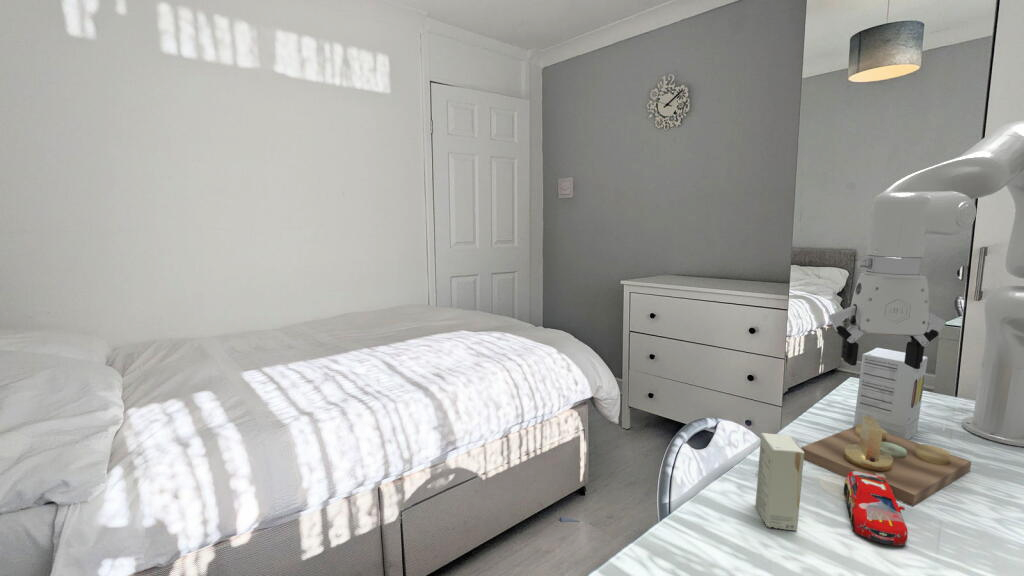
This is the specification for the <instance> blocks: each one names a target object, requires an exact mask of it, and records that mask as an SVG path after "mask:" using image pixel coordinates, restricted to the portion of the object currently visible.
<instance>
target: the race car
mask: <svg viewBox="0 0 1024 576" xmlns="http://www.w3.org/2000/svg"><path fill="white" fill-rule="evenodd" d="M843 485H844V487H843V495H844V498H845V503H846V507H847V511H848V515H849V519H850V522H851V528H852V532H854V533H857V534H858V535H860V536H862V537H863V538H866V539H868V540H871V541H872V542H873V541H874V542H876V543H880V544H883V545H889V546H897V547H898V546H904V545H906V544H907V541H908V534H909V533H908V527H907V525H906V522H905V519H904V515H903V514H902V511H905V509H906V508H905V507H904V506H899V504H898V501H897V499H895V497H894V495H893V492H892V490H891V488H890V486H889V484H888V482H887V481H886V480H885V479H883V478H881V477H879V476H877V475H873V474H868V473H863V472H858V471H852V472H850V473H848V475H847V478H846V477H845V480H844V484H843Z"/></svg>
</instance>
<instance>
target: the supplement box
mask: <svg viewBox="0 0 1024 576" xmlns="http://www.w3.org/2000/svg"><path fill="white" fill-rule="evenodd" d="M905 353H906V352H903V351H898V350H893V349H886V348H881V347H875V348H874V349H872V350H870V351H868V352H865V353H862V356H861V363H860V372H859V381H858V388H857V398H856V405H855V412H854V419H853V427H854V426H856V425H858V424H862V418H863V416H866V417H873V418H875V419H876V421H877V423H878V424H879V426H880V428H882V429H884V430H885V431H886V432H887V433H890V434H893V435H895V436H898V437H901V438H904V439H907V440H910V439H911V438H912V437H914V435H915V434H917V433H918V427H919V426H918V425H919V419H920V412H921V405H922V400H923V393H924V386H925V379H926V373H927V368H928V367H927V366H928V356H925V355H923V360H922V363H920V369H914V368H912V367H910V366H908V365H906V364H905V363H904V361H905Z"/></svg>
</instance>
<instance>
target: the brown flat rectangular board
mask: <svg viewBox="0 0 1024 576" xmlns="http://www.w3.org/2000/svg"><path fill="white" fill-rule="evenodd" d="M861 426H862V424H858V425H856V426H854V425H853V426H852V427H850V428H847V429H845V430H842V431H840V432H839V431H838V432H837V433H834V434H832V435H829V436H827V437H824V438H821V439H819V440H816V441H814V442H812V443H811V442H810V443H808V444H806V445H804V446H800V447H801V449H802V450H803V451H804V460H805V461H807V462H810V463H812V464H814V465H817V466H819V467H820V468H824V469H825V470H827V471H831V472H833V473H834V474H837V475H839V476H842V477H845V479H846V478H847V475H848V473H850V472H852V471H858V472H863V473H868V474H873V475H877V476H879V477H881V478H883V479H885V480H886V481H887V482H888V484H889V486H890V488H891V490H892V492H893V495H894V497H895V499H896V501H897V500H898V501H900V502H902V503H904V504H906V505H909V506H911V507H915V505H918V504H919V503H921V502H922V501H924V500H926V499H927V498H929V497H930V496H932V495H934V494H935V493H937V492H939V491H940V490H942V489H944V488H945V487H947V486H948V485H950V484H952V483H953V482H955V481H956V480H958V479H960V478H962V477H963V476H965V475H967V474H968V473H970V471H971V466H972V461H971V460H969V459H965V458H963V457H960V456H958V455H954V454H952V453H950V452H949V451H948V450H946V449H944V448H942V447H939V446H935V445H932V444H927V443H926V444H924V443H919V442H915V441H913V440H910V439H909V440H907V439H904V438H901V437H898V436H895V435H893V434H890V433H887V432H886V431H885V430H884V429H882V428H881V430H882V431H883V433H882V440H881V448H880V450H883V451H885V452H887V453H888V454H890V455H891V456H892V457H893V464H892V469H891V470H889V471H874V470H869V469H865V468H862V467H859V466H856V465H854V464H852V463H850V462H849V461H848V460H846V459H845V457H844V452H845V446H847V445H849V444H859V442H860V434H861Z"/></svg>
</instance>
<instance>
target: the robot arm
mask: <svg viewBox="0 0 1024 576" xmlns="http://www.w3.org/2000/svg"><path fill="white" fill-rule="evenodd" d="M1005 186H1006V188H1007V190H1008V191H1009V193H1010V196H1011V197H1012V200H1013V203H1014V209H1015V212H1014V213H1015V214H1014V220H1013V225H1012V228H1011V232H1010V237H1009V240H1008V241H1009V242H1008V247H1007V250H1006V257H1005V269H1006V271H1007V273H1008V274H1009V275H1010V276H1012V277H1015V278H1019V279H1023V280H1024V120H1018V121H1013V122H1010V123H1006V124H1003V125H1001V126H999V127H997V128H996V129H994V130H993V131H991V132H990V133H988V134H987V135H986V136H985V137H983V138H981V140H979V141H978V142H977V143H976V144H974V145H973V146H971V147H970V148H969V149H968V150H966V151H965V152H964V153H963V154H961V155H960V156H958V157H955V158H952V159H949V160H945V161H943V162H940V163H938V164H935V165H933V166H929V167H928V168H924V169H921V170H919V171H917V172H914V173H912V174H909V175H907V176H904V177H903V178H901V179H899V180H897V181H895V182H894V183H893V184H891V185H890V186H889V187H888V188H886V189H885V190H884V191H882V192H881V193H879V194H877V195H876V196H875V197H874V199H873V201H872V202H873V203H872V205H871V207H870V210H869V215H868V219H869V222H870V223H869V231H868V233H869V234H868V242H867V250H866V255H865V258H863V259H861V258H860V259H859V258H858V259H857V262H856V265H857V268H863V271H864V272H861V273H860V275H859V276H858V279H857V282H856V285H855V288H854V291H853V295H852V300H851V304H850V306H849V307H845V308H844V309H841V310H839V311H837V312H833V313H832V314H830V315H829V316H828V319H829V321H830V322H831V325H832V328H833V330H834V331H835V332H836V333H837V334H838V336H840V338H841V339H842V340H843V341H842V351H841V357H842V359H843V361H844V362H845V363H846V364H848V365H850V366H856V365H857V364H858V363H857V362H858V355H859V354H858V353H859V347H860V345H859V343H858V342H857V340H859V339H860V338H861V337H862V336H863V335H864V334H868V335H874V336H875V335H879V336H880V335H881V336H899V337H900V336H901V337H908V339H910V341H907V343H906V348H905V352H904V353H905V361H904V363H905V364H906V365H908V366H910V367H912V368H914V369H920V363H922V360H923V356H924V352H925V347H927V346H929V344H930V342H931V341H933V340H934V339H936V338H937V337H938V336H939V332H941V331H942V329H943V328H944V326H945V325H946V324H947V321H946V320H945V319H943V318H941V317H939V316H937V315H935V314H933V313H931V312H930V311H929V310H930V309H929V308H930V297H929V296H930V294H929V284H928V283H929V282H928V278H927V276H923V275H922V269H923V261H924V254H925V246H926V240H927V238H926V237H935V238H936V237H938V238H939V237H940V238H942V237H943V238H944V237H953V236H957V235H959V234H962V233H964V232H966V230H968V229H969V228H970V227H971V226H972V224H973V223H974V221H975V219H976V216H977V208H976V204H975V202H974V201H973V200H975V199H979V198H980V199H981V198H984V197H987V196H991V195H993V194H995V193H997V192H999V191H1000V190H1002V189H1003V188H1005ZM846 319H848V323H849V326H848V327H847V328H845V327H844V324H843V321H844V320H846ZM984 320H985V321H984V322H985V338H984V339H985V340H984V346H983V347H984V348H983V354H982V360H981V361H982V362H981V367H980V372H979V378H978V385H977V392H976V397H975V403H974V409H973V415H972V416H969V417H964V418H963V419H962V422H961V425H962V427H963V428H964V429H965V430H967V431H968V432H970V433H971V434H974V435H976V436H978V437H981V438H984V439H987V440H990V441H994V442H997V443H1000V444H1001V443H1002V444H1005V445H1011V446H1017V447H1023V448H1024V285H1005V286H1001V287H998V288H995V289H994V290H992V291H991V292H989V294H988V295H987V296H986V299H985V301H984ZM928 323H929V324H928Z"/></svg>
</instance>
